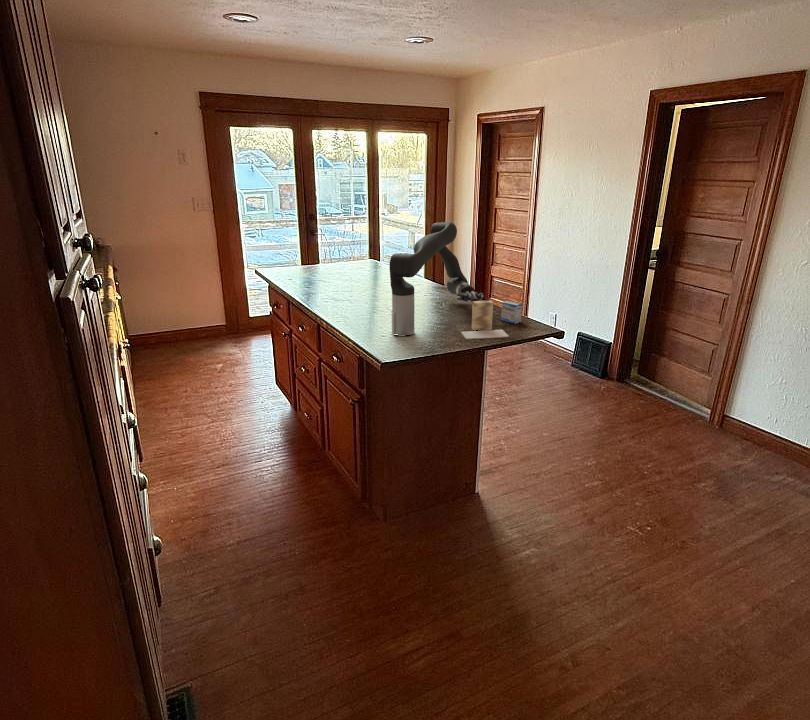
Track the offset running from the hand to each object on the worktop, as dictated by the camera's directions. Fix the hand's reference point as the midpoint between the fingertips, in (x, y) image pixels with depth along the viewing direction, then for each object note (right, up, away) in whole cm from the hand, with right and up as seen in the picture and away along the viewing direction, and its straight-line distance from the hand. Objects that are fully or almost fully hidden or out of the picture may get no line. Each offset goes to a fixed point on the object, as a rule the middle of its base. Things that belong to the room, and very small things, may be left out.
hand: (475, 300), depth 230 cm
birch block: (+2, -13, -7) cm, 15 cm away
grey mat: (+2, -16, -15) cm, 22 cm away
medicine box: (+16, -9, +3) cm, 19 cm away
